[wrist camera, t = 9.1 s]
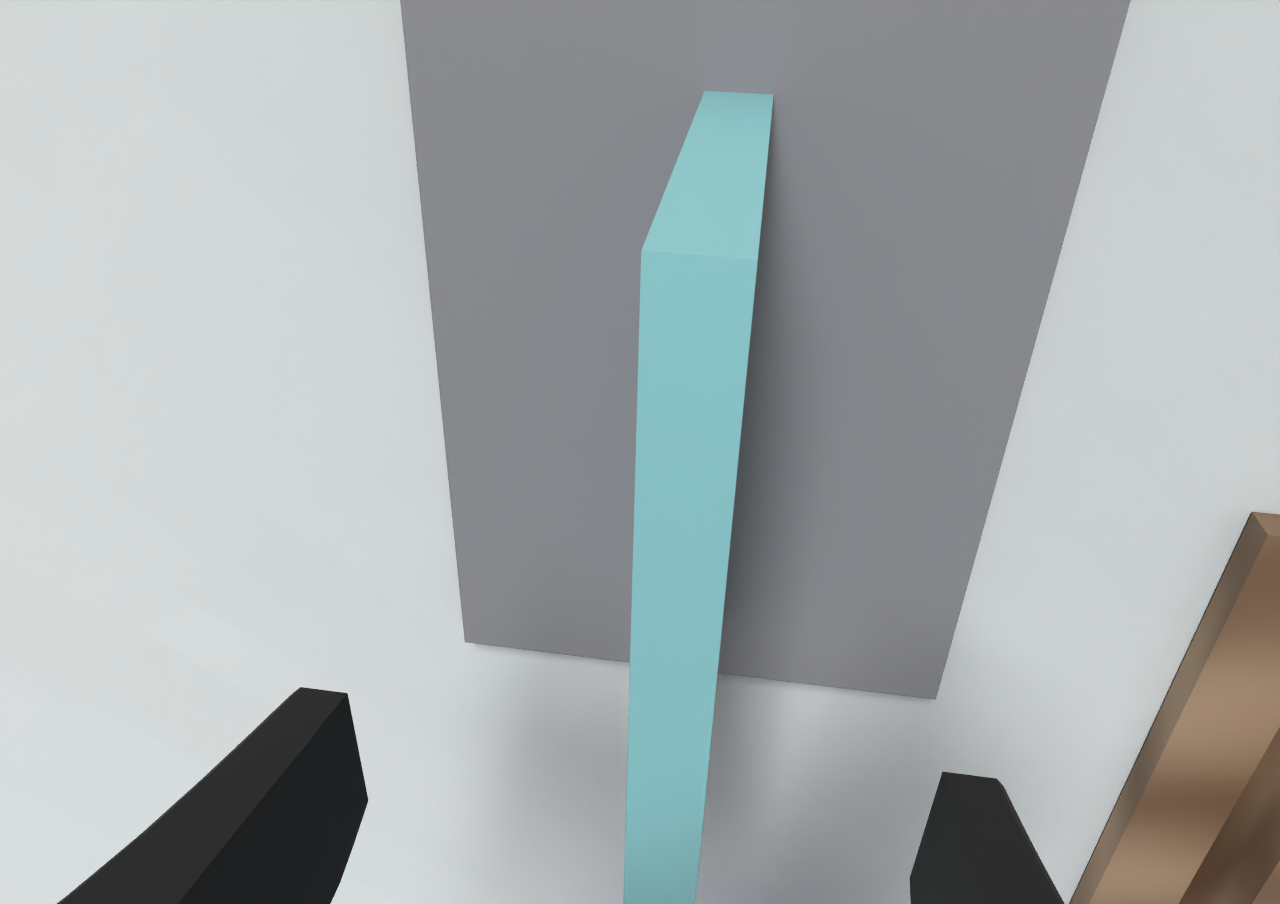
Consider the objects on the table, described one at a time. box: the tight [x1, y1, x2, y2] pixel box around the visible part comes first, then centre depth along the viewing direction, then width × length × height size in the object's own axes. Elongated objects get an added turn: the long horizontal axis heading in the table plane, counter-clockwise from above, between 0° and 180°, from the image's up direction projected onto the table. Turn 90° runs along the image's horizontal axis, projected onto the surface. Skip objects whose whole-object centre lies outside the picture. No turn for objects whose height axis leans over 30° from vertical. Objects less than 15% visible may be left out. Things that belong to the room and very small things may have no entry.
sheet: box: [623, 91, 773, 904], centre depth 16 cm, size 12×1×8 cm, turn 178°
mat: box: [400, 0, 1130, 699], centre depth 20 cm, size 16×12×1 cm
